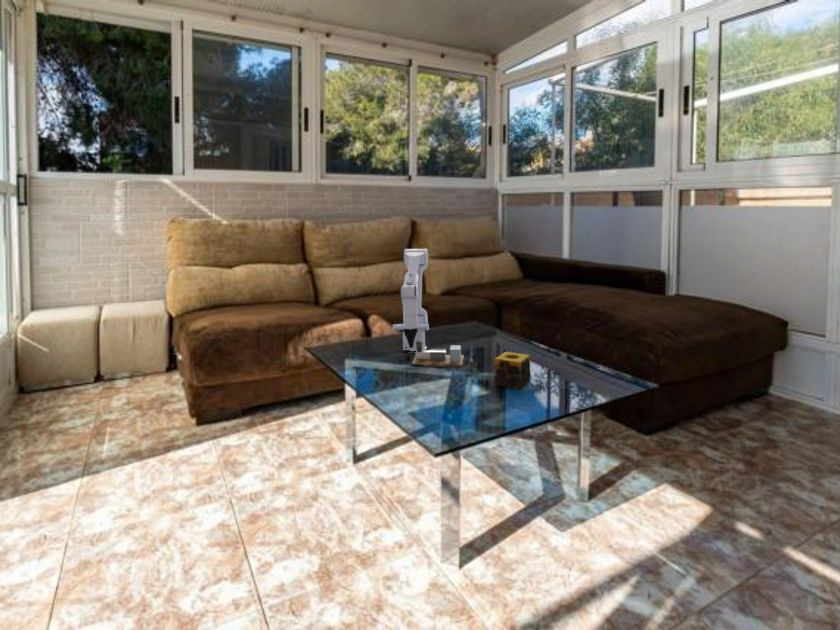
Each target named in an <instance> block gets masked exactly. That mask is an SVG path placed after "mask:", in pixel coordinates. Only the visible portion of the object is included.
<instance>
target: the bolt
mask: <svg viewBox="0 0 840 630" xmlns="http://www.w3.org/2000/svg"><path fill="white" fill-rule="evenodd" d="M416 349H417V350H416V352H415V355H416V359H430V352H445V359H446V355H447V349H446V350H431V349H428V350H427V349H426V350H422V341H416Z"/></svg>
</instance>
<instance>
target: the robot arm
mask: <svg viewBox="0 0 840 630" xmlns="http://www.w3.org/2000/svg"><path fill="white" fill-rule="evenodd" d="M428 253H429V252H428V249H427V248H405V249H404V251H403V262H404V264H405V267H406V269H407V272H406V273H405V274H404V280H403V285H401V287H400V297H401V304H402V315H403V317H402V320H403V322H402V323H396V324H392V331H396V330H397V331H398V330H399V331H403V332H402V346H403V347H402V349H403V350H410V351H416V350H417V349H416V341H422V350H427V348H428V347H427V345H426V337H425V335H426V333H425V331H429V329H430V324H429V321H428V320H429V319H428V318H429V317H428V312H427V311H426V310H425V309H424V308H422V296H423V295H422V293H423V292H422V290H423V288H422V287H423V273H424V271H425V270H427V269H428V265H429V263H428V262H429V260H428V259H429V254H428ZM405 347H407V348H405ZM403 350H402V351H403Z"/></svg>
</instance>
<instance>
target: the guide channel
mask: <svg viewBox="0 0 840 630" xmlns="http://www.w3.org/2000/svg"><path fill="white" fill-rule="evenodd" d="M430 350H446V351H447V349H446V348H431V349H430ZM430 361H445V352H430Z"/></svg>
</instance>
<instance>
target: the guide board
mask: <svg viewBox="0 0 840 630" xmlns="http://www.w3.org/2000/svg"><path fill="white" fill-rule="evenodd" d="M464 357H465V355H464V354H461V360H460V362H450V354H446V359H445V361H430V359H416V354H415V356H414V358H413V360H412V362H411V365H412V364H417V365H424V366H423V367H463V364H464Z"/></svg>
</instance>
